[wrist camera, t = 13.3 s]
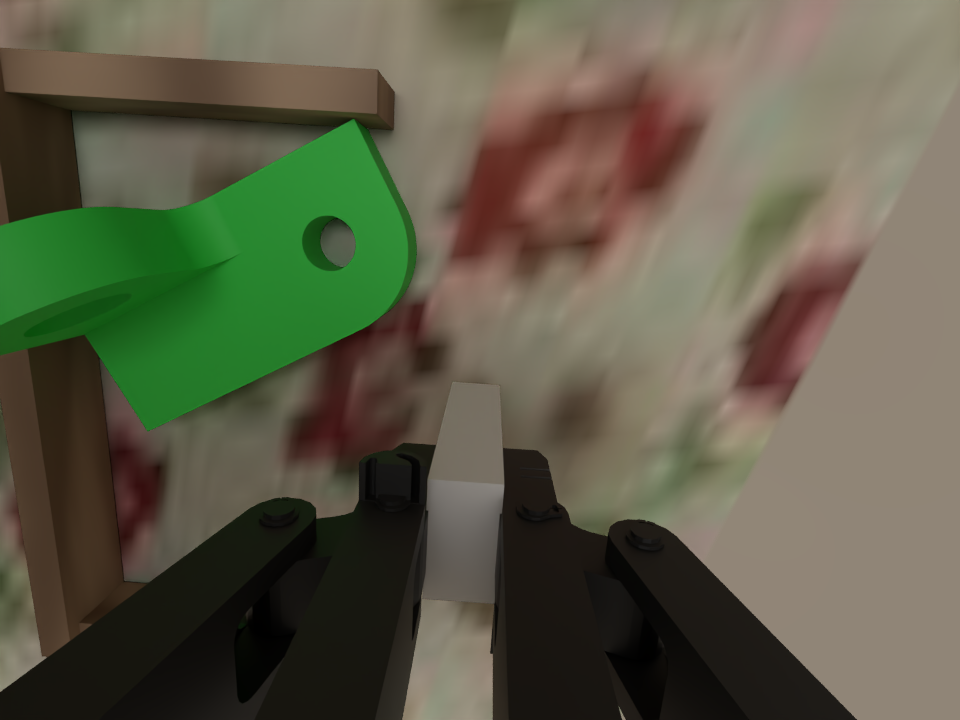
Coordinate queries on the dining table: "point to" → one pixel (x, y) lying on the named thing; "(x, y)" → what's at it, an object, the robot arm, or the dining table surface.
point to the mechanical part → (213, 276)
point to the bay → (73, 362)
